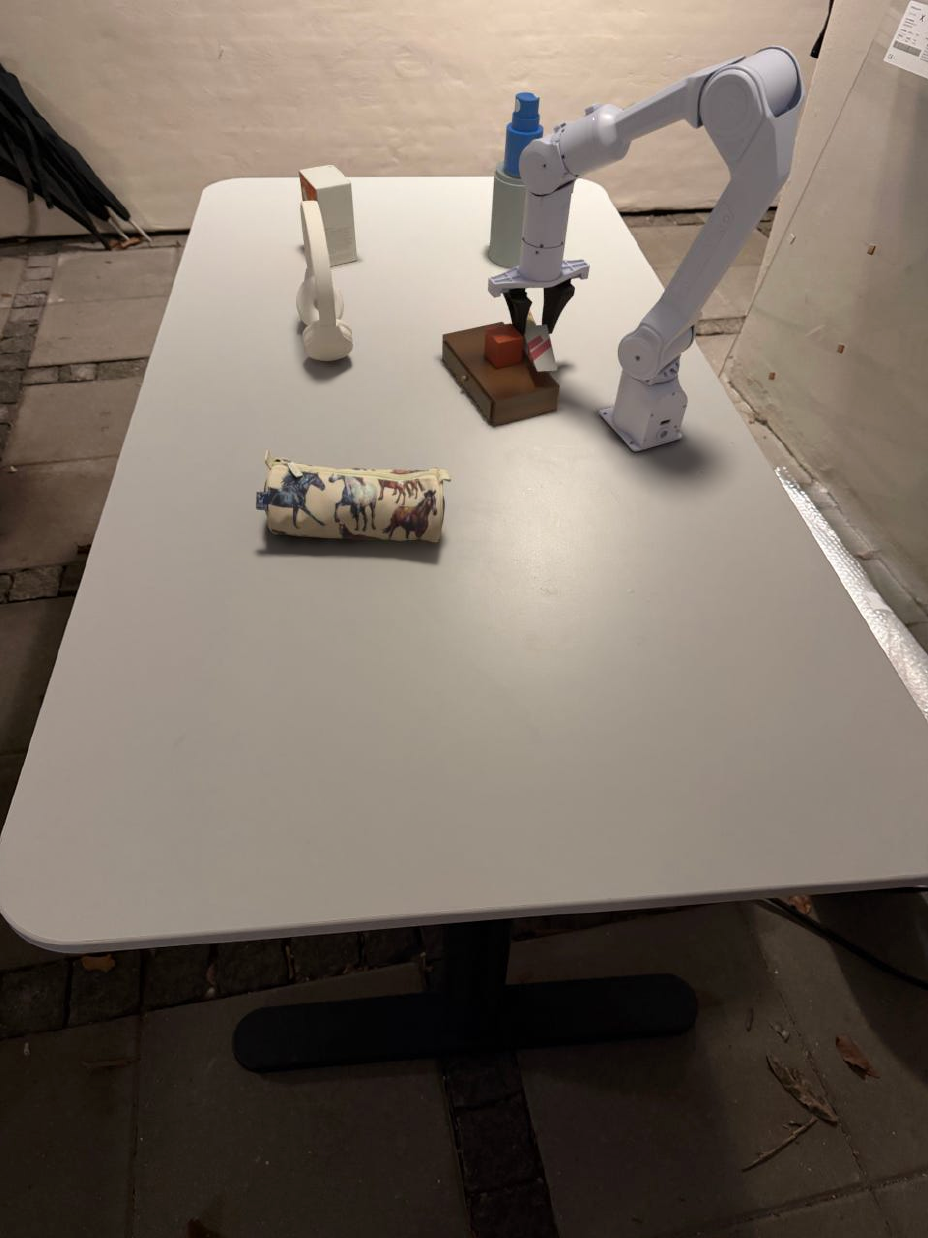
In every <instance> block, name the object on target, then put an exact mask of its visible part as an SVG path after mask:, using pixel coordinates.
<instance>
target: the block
mask: <svg viewBox="0 0 928 1238" xmlns="http://www.w3.org/2000/svg"><path fill="white" fill-rule="evenodd" d="M504 324H505V325H500V326H496V327H491V328H487V329H486V332H485V349H484V354H485V356H486V357H487V358H488V359H489V360H490V362H491V363H492V364H493V365H494V366H495V368H496V369H497V368H501V367H505V366H510V365H514V364H518V363H521V359H522V349H523V339H524V337H523V336H522V335H521V334H520V333H519V332H518V331H517V329H516V328H515V327H514V326H513V325H512V322H510V323H504Z"/></svg>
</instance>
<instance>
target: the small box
mask: <svg viewBox="0 0 928 1238" xmlns="http://www.w3.org/2000/svg"><path fill="white" fill-rule="evenodd" d="M298 176H299V184H300V192H301V202H303V201H317V203H318V205H319V209H320V213H321V217H322V222H323V227H324V232H325V238H326V243H327V249H328V253H329V260H330V267H334V266H338V265H345V264H347V263H348V264H349V263H352V262H356V261H357V260H358V254H357V241H356V229H355V216H354V203H353V190H352V182H351V181H350V180H349V179H348V178H347V177H346V175H344V173H343V172H341V171H340V170H339V169H338V168H337V167H336V166H335V165H334V164H327V165H320V166H314V167H308V168H304V169H299V170H298Z"/></svg>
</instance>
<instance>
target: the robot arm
mask: <svg viewBox="0 0 928 1238" xmlns="http://www.w3.org/2000/svg"><path fill="white" fill-rule="evenodd" d="M747 56H748V55H747V54H744V55H739V56H737V57H733V58H731V59H727V60H725V61H722V62H720V63H716V64H713V65H711V66H708V67H705V68H702V69H700V70H697V71H695V72H693V73H691V74H689V75H687V76H684V77H683V78H681V79H679V80H677V81H676V82H673V83H672V84H670V85H668V86H667V87H665V88H662V89H661V90H659V91H657V92H655V93H654V94H651V95H650V96H648V97H646V98H644V99H643V100H640V101H639V102H637V103H635V104H633V105H631V106H629V107H628V108H626V109H622V108H620V107H619V106H617V105H615V104H612V103H606V104H604V105H602V103H601V102H600V101H598V102H595V103H593V104H591V105H589V106H587V107H586V108H584V113H585V115H583V116H581V117H579V118H577V119H575V120H573V121H571V122H569V123H567V122H566V121H562V122H560V123H558V124H556V125H555V126H554V127H553V132H550V133H548V134H546V135H543V137H542V138H540V139H535V140H532V141H531V143H530V144H529V145H527V146H526V147H525V148H524V150H523V151H522V153H521V156H520V159H519V172H520V176H521V179H522V181H523V183H524V185H525V186H526V196H525V207H524V218H523V229H522V241H521V252H520V263H519V265H518V266H516V267H514V268H509V269H508V270H505V271H503V272H501V273H498V274H496V275H493V276H489V277H488V280H487V292H488V293H489V294H490V296H491V297H493V298H500V297H501V296H503V298H504V301H505V303H506V306H507V309H508V313H509V315H510V320H511V324H512V325H513V326H514V327H515V328H516V329H517V331H518V332H519V333H520V334H521V335H522V336H523V337H524V334H525V330H526V321H527V316H528V313H529V310H530V309H531V307H532V305H533V301H532V300H531V299H530V298H529V296H528V292H527V291H526V289H543V306H542V312H541V313H542V314H541V325H547V327H548V331H549V335H553V333H554V330H555V327H556V325H557V323H558V320H559V318H560V316H561V314H562V312H563V310H564V309H565V307H566V306H567V304H568V303H569V302H570V300H571V299H572V298H573V297H574V296H575V292H576V287H575V285H573V284H572V280H575V279H579V280H581V281H583V280H588V279H589V272H590V267H591V265H590V264H589V263H588V262H587V261H586V260H585V259H584V258H581V259H580V258H579V259H564V253H565V248H566V247H565V246H566V239H567V232H568V224H569V217H570V209H571V203H572V202H571V201H572V194H573V193H574V188H575V183H576V181H577V180H579V179H581V178H583V177H585V176H586V177H587V176H588V175H590V174H592V173H594V172H598V171H599V170H601V169H603V168H605V167H608V166H611V165H612V164H615V163H617V162H619V161H621V160H623V159H624V158H625V157H626V156H627V154H628V152H629V150H630V148H631V144H632V141H634V140H636V139H639V138H641V137H644V136H647V135H649V134H651V133H654V132H656V131H658V130H661V129H663V128H666V127H668V126H670V125H673V124H675V123H677V122H680V121H682V120H685V122H687V123H688V124H689V125H690V126H691V128H693V129H696V130H698V129H700V128H702V127H704V129H705V131H706V133H707V135H708V136H709V138H710V140H711V141H712V143H713V145H714V146H715V148H716V150H717V151H718V153H719V155H720V156H721V158H722V160H723V162H724V163H725V165H726V166H727V169H728V173H729V177H730V179H729V182H728V184H727V185H726V186H725V189H724V190H723V192H722V194H721V195H720V196H719V198H718V200H717V202H716V204H715V205H714V206H713V209H712V210H711V212H710V213H709V215H708V217H707V219H706V220H705V222H704V223H703V225H702V227H701V229H700V230H699V232H698V234H697V235H696V237H695V239H694V240H693V242H692V244H691V245H690V247H689V249H688V251H687V252H686V254H685V256H684V257H683V259H682V260H681V262H680V264H679V266H678V267H677V269H676V270H675V272H674V275H673V276H672V278H671V279H670V280H669V282H668V284H667V285H666V287H665V289H664V291H663V293H662V294H661V295H660V298H659V299H658V300H657V301H656V302H655V303H654V305H653V307H652V308H650V309H649V311H648V312H647V313H646V314H645V315H644V316H643V318H642V319H641V320H640V322H639V324H638V325H637V327H636V328H635V329H634V330H632V331H630V332H628V333H627V334H626V335H624V336H622V338H621V340H620V342H619V344H618V347H617V359H618V363H619V365H620V367H621V372H620V373H621V374H620V378H619V382H618V387H617V392H616V395H615V401H614V405H613V406H611V407H607V408H603V409H601V410H599V416H600V417H601V418H602V419H603V420H604V421H605V422H606V423H607V424H608V426H610V428H611V429H612V430H613V431H614V432H615V433H616V434H617V435H618V436H619V437H620V438H621V439H622V441H624V443H625V444H626V445H627V446H628V448H629V449H631V450H632V451H633V452H640V451H643V450H647V449H650V448H653V447H656V446H660V445H664V444H667V443H671V442H674V441H678V440H681V439H682V438H683V434H682V433H681V432H680V430H681V427H682V423H683V419H684V417H685V413H686V410H687V407H688V402H689V401H688V400H689V399H688V395H687V393H686V391H684V389H683V387H682V386H681V383H680V379H679V371H680V365H681V363H680V362H681V357H682V353H684V352H686V351H687V350H688V349H690V348H691V347H692V345H693V344H694V341H695V338H696V333H697V325H698V323H699V321H700V320H701V319H702V317H703V315H704V314H703V311H702V309H703V308H704V306H705V305H706V304H707V302H708V300H709V299H710V297H711V296H712V294H713V292H714V291H715V290H716V288H717V287H718V285H719V283H720V282H721V280H722V279H723V277H724V276H725V275H726V273H727V272H728V270H729V268H730V267H731V265H732V264H733V263H734V262H735V259H736V258H737V257H738V255H739V253H740V252H741V250H742V249H743V247H744V246H745V245H746V244H747V241H748V240H749V238H750V237H751V235H752V233H753V232H754V231H755V229H756V228H757V226H758V225H759V223H760V221H762V218H764V215H765V214H766V213H767V211H768V210H769V208H770V207H771V205H772V204H773V202H774V200H775V199H776V198H777V196H778V194H779V193H780V192H781V190H782V189H783V187H784V185H785V184H786V182H787V180H788V178H789V177H790V174H791V170H792V162H793V157H794V150H795V143H796V135H797V128H798V120H799V115H800V113H801V110H802V107H803V105H804V102H805V100H806V97H807V91H806V87H805V83H804V79H803V75H802V70H801V66H800V63H799V60H798V59H797V57H796V56H795V54H794V53H793V52H792V51H791V50H790V49H788V48H786V47H784V46H782V45H768V46H764V47H763V48H760V49H759V50H758V51H756V52H755V53H753V54H752V55H750V56H748V57H747ZM530 311H531V310H530Z"/></svg>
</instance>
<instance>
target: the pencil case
mask: <svg viewBox="0 0 928 1238" xmlns="http://www.w3.org/2000/svg"><path fill="white" fill-rule="evenodd" d="M264 463H265V465H266V466H267V468H268V473H267V476H266V479H265V481H264V482H265V483H264V486H263V491H256V497H255V498H256V499H255V500H256V501H255V509H256V510H258V511H264V513H265V515H266V522H267V523H266V524H267V527H268V529H269V531H270V532H271V533H272V534H273V535H285V536H286V535H289V536H293V537H298V538H299V537H300V538H320V539H321V538H322V539H348V540H363V541H369V540H382V541H383V540H384V541H391V540H392V541H397V542H403V541H416V540H421V541H428V542H431V543H437V542H438V541H439V539H440V538H441V535H442V529H443V525H444V519H445V513H446V512H445V511H446V501H445V496H444V481H445V482H448V483H451V482H452V476H451V473H450V472H449V471H448V469H443V468H438V467H431V468H429V469H427V470H420V469H413V470H411V469H410V470H406V469H396V468H395V469H394V468H393V469H392V468H391V469H390V468H389V469H373V468H359V467H351V468H335V467H326V466H325V467H324V466H321V465H312V464H305V463H299V462H298V463H297V462H294V461H292V460H291V459H290V458H287V457H285V456H284V457H275V458H273V456H272V454H271V453H270V450H269V449H266V451H265V455H264Z"/></svg>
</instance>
